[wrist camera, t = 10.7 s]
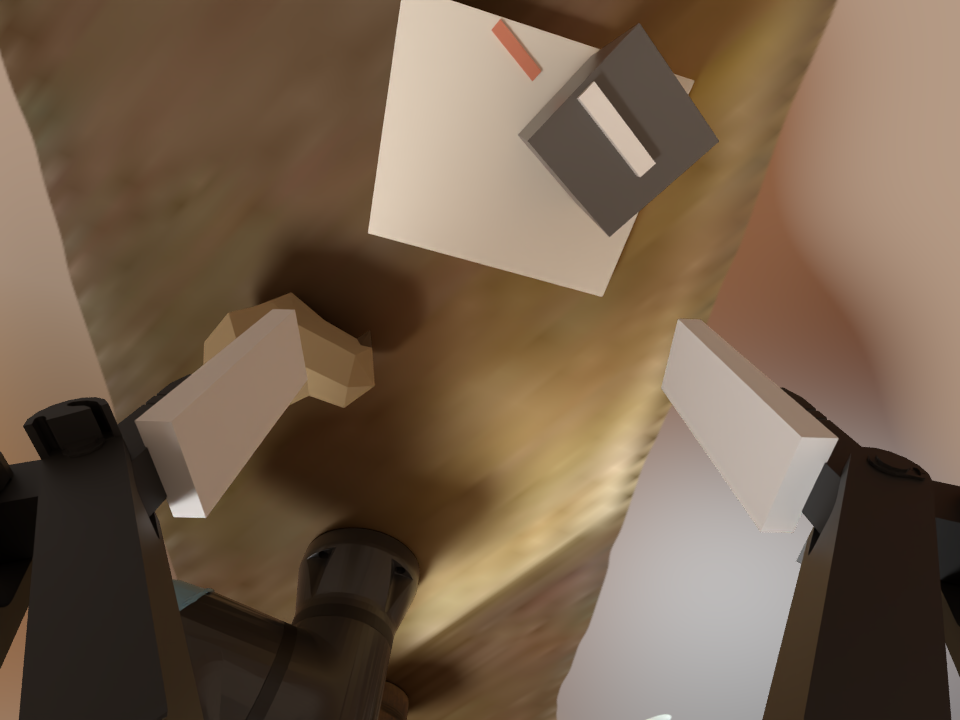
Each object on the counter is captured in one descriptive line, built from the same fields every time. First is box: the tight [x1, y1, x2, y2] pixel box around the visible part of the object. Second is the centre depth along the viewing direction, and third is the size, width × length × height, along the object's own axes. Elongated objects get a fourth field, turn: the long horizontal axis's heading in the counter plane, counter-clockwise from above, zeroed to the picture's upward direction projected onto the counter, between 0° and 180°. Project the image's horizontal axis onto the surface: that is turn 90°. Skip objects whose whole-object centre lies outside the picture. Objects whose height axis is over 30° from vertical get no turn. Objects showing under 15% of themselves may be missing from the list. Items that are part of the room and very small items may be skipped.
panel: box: [368, 0, 694, 297], centre depth 31 cm, size 16×20×7 cm
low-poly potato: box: [203, 293, 375, 408], centre depth 38 cm, size 15×11×12 cm
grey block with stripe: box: [518, 23, 719, 237], centre depth 26 cm, size 7×7×12 cm
